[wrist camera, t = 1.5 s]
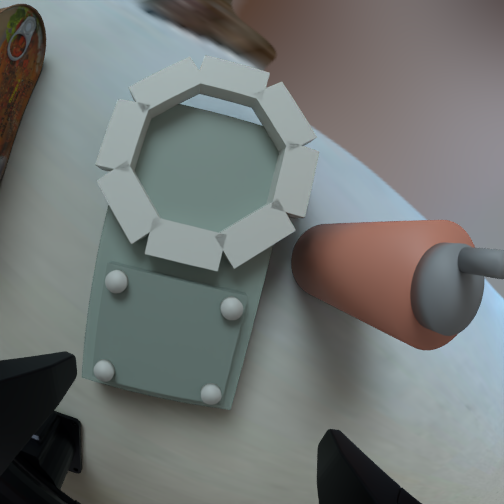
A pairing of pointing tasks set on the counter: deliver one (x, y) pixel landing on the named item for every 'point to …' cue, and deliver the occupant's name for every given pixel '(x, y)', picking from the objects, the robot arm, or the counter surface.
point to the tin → (18, 68)
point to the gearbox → (191, 229)
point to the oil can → (398, 275)
